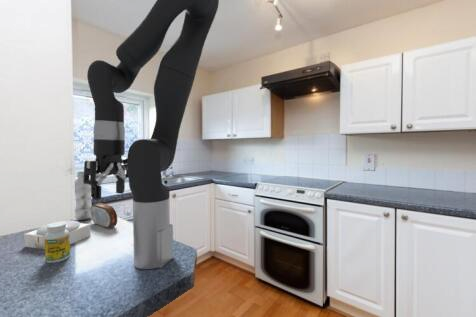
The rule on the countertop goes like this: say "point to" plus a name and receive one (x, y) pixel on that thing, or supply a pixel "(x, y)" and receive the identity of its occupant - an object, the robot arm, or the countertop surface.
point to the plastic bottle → (82, 198)
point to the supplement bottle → (57, 243)
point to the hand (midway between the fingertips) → (109, 196)
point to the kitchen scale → (74, 227)
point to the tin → (104, 215)
